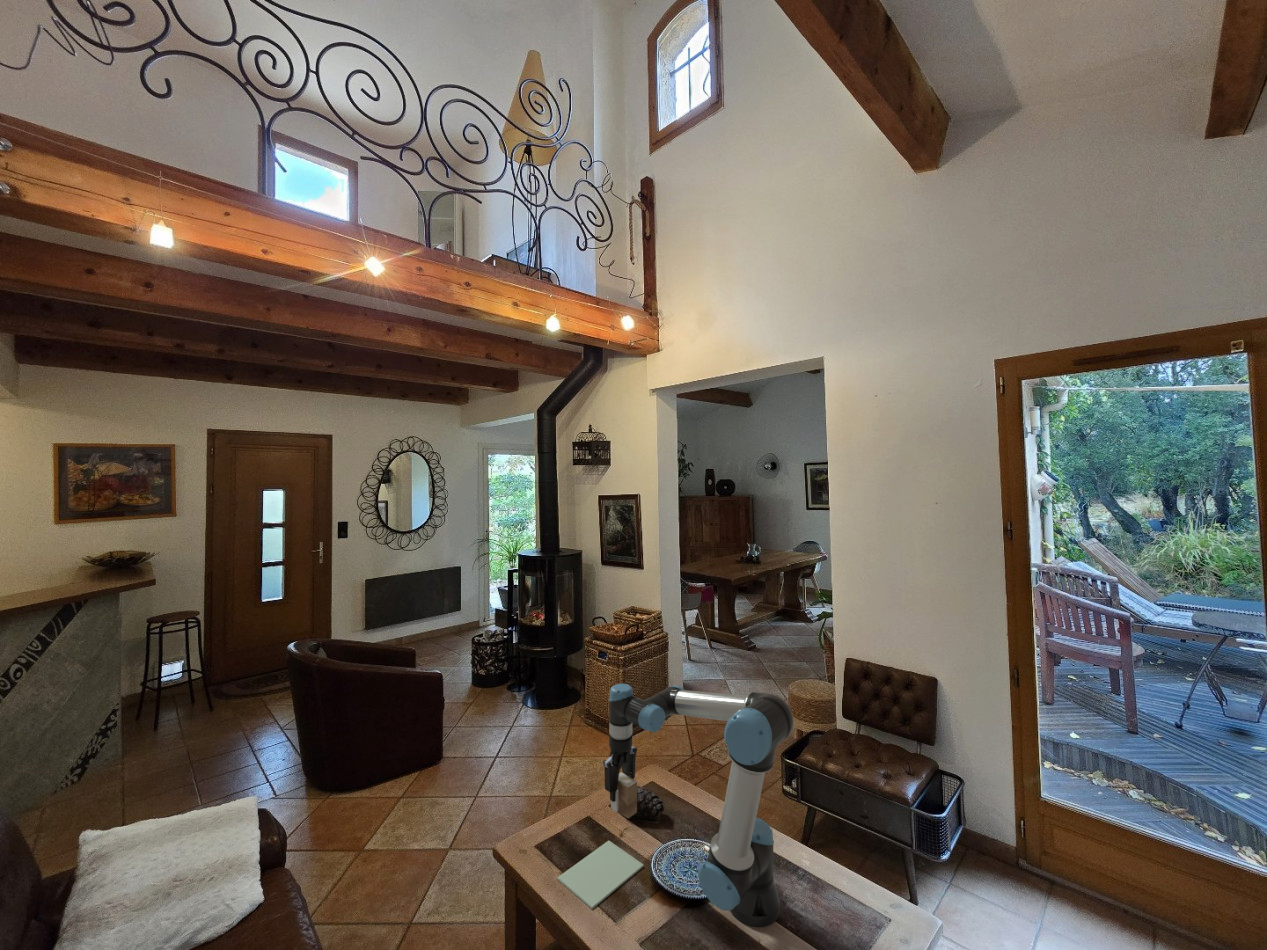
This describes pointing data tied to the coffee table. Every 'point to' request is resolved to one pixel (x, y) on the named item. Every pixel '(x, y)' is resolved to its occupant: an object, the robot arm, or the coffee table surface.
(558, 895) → the coffee table surface
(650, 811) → the pine cone
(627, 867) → the mat
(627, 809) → the beige rectangular block
